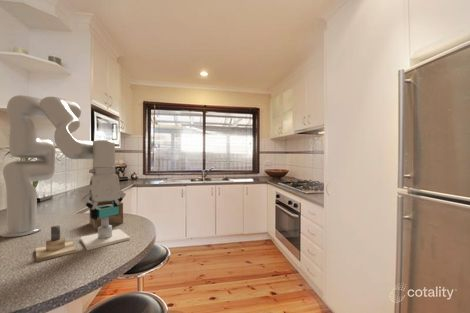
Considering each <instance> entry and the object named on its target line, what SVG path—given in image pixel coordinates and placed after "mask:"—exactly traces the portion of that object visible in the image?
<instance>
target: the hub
mask: <svg viewBox="0 0 470 313" xmlns="http://www.w3.org/2000/svg"><path fill="white" fill-rule="evenodd" d="M129 240H131V236H129V234H127V233H125V232H124V231H123V230H121V229H120V228H118V229H113V225H109V216H107V217H103V218H101V226H100V227H98V228H97V233H93V234H90V235H84V236H80V242H81V243H82V244H83V245H84V248H85V249H86V251H89V250H94V249H98V248H102V247H105V246H110V245H113V244H119V243H121V242H126V241H129Z"/></svg>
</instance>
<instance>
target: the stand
mask: <svg viewBox="0 0 470 313" xmlns="http://www.w3.org/2000/svg"><path fill="white" fill-rule="evenodd" d="M74 253H77V248H76V247H75V244H74V242H73V240H72V239H69V240H66V238H65V237H64V236H61V225H54V226H51V227H50V239H47V240H46V241H45V245H41V246H37V247H35V259H36V263H39V262H42V261H47V260H50V259H54V258H58V257H62V256H66V255H70V254H74Z"/></svg>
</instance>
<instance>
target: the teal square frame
mask: <svg viewBox="0 0 470 313" xmlns="http://www.w3.org/2000/svg"><path fill="white" fill-rule="evenodd" d="M96 209H97V218H103V217H107V216H112V215H116V214H119V206H114V205H105V206H99V207H96Z"/></svg>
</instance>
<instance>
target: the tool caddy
mask: <svg viewBox="0 0 470 313" xmlns="http://www.w3.org/2000/svg"><path fill="white" fill-rule="evenodd" d="M89 203H90V204H91V202H89ZM113 204H114V203H113V202H112V200H110V201H104V202H98V204H97V206H96V207H99V206H105V205H113ZM121 224H124V202H122V201H121V202H120V204H119V214H118V215H112V216H109V225H112V226H115V225H121ZM89 225H91V226H92V227H93V229H98V227H100V226H101V218H97V220H94V219H92V218H91V216H90V215H89Z"/></svg>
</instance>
